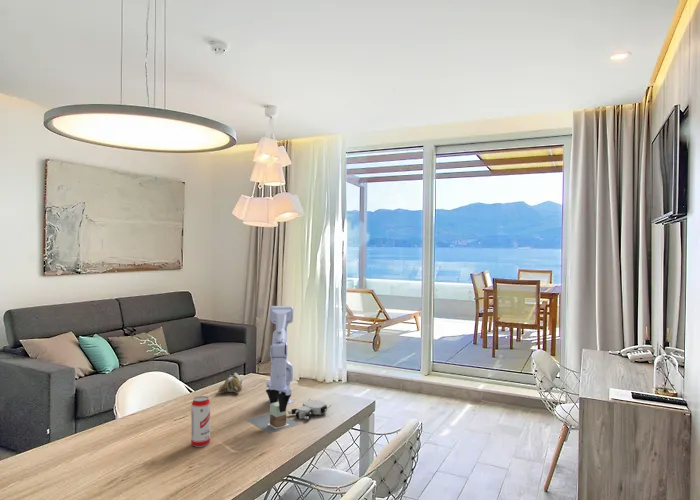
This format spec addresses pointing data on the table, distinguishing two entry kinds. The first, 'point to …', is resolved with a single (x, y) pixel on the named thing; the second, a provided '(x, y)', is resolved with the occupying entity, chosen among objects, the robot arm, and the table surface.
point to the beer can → (200, 421)
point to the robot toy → (309, 409)
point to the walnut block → (278, 420)
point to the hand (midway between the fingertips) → (278, 409)
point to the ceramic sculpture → (232, 384)
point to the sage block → (276, 410)
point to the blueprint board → (265, 424)
